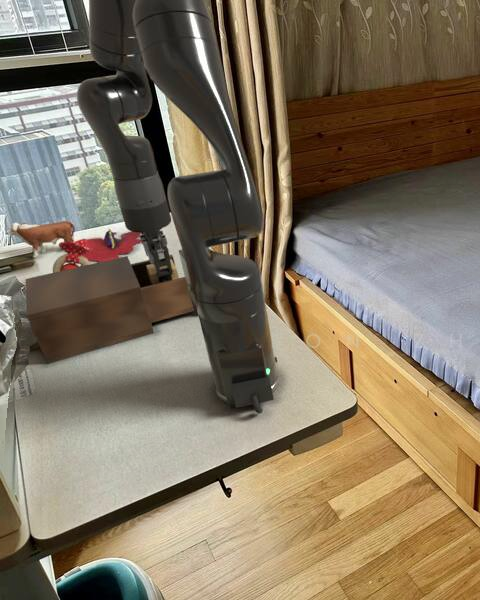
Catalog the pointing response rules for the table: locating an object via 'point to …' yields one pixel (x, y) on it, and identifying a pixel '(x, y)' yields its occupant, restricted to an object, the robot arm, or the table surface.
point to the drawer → (165, 292)
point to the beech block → (154, 277)
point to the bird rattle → (72, 255)
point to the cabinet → (86, 308)
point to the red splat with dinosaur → (110, 246)
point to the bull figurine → (43, 234)
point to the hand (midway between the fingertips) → (166, 285)
